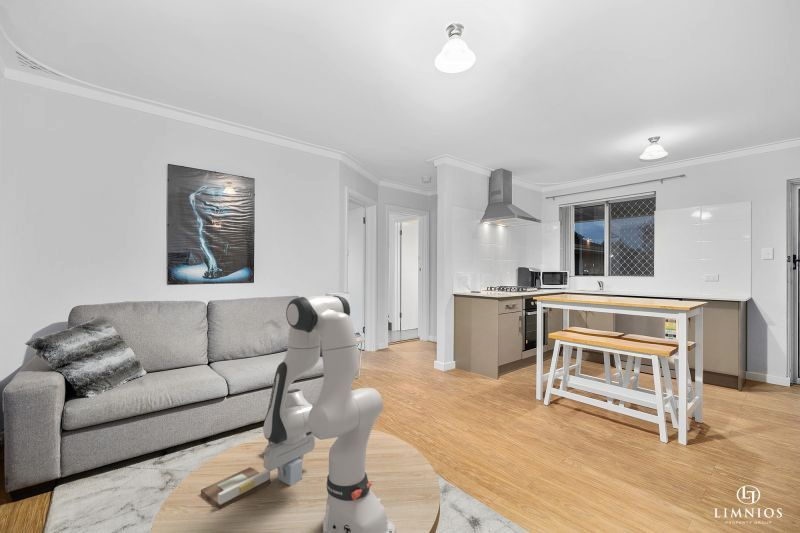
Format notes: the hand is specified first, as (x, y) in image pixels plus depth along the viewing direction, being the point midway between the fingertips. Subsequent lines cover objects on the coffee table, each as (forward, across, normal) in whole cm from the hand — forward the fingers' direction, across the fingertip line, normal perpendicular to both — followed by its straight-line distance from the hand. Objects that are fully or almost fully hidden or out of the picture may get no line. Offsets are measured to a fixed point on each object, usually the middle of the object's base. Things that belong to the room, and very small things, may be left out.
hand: (290, 471), depth 132 cm
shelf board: (+3, -15, +10) cm, 18 cm away
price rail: (+1, -15, +4) cm, 16 cm away
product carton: (+3, 0, 0) cm, 3 cm away
